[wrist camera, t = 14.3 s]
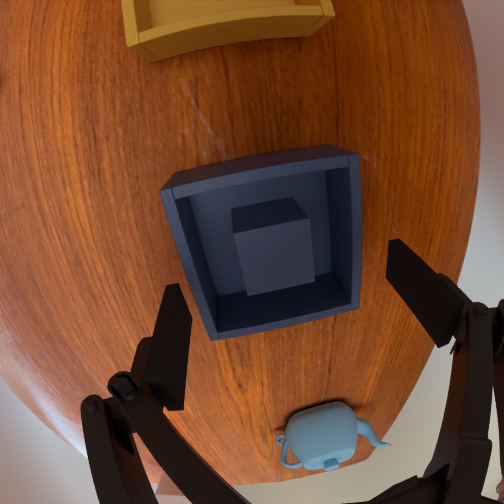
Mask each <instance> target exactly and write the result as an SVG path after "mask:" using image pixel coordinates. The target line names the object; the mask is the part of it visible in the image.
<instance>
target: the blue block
mask: <svg viewBox="0 0 504 504" xmlns="http://www.w3.org/2000/svg"><path fill="white" fill-rule="evenodd" d="M231 217H232V228H233V236H234V240H235V245H236V249H237V253H238V257H239V262H240V266H241V270H242V274H243V278H244V283H245V287H246V291H247V295H248V296H251V295H255V294H260V293H265V292H270V291H274V290H279V289H284V288H288V287H293V286H297V285H301V284H306V283H310V282H314V281H315V275H314V262H313V250H312V239H311V228H310V219H309V217H308V216H307V215H306V213H305V212H304V211H303V210H302V209H301V207H300V206H299V205H298V204H297V202H296V201H295V200H294V199H293V198H292V197H288V198H282V199H277V200H272V201H267V202H262V203H257V204H252V205H247V206H242V207H237V208H233V209H231Z"/></svg>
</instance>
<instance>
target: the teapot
mask: <svg viewBox="0 0 504 504" xmlns="http://www.w3.org/2000/svg"><path fill="white" fill-rule="evenodd" d="M357 434H362V435H364V436H365V437H366V438H367V439H368V441H369V442H370V443H371V445H373V446H374V447H377V448H381V447H386V446H389V445H391V444H389V443H384V442H382V441H380V440H379V439H378V438H377V436H376V435H375V433H374V431H373V429H372V427H371V425H370V424H369V423H368V422H367V421H366V420H364V419H362V418H358V417H355V414H354V412H353V410H352V409H351V408H350V407H349V406H348V405H346V404H344V403H343V402H339V401H336V402H331V403H326V404H323V405H319V406H315V407H312V408H309V409H306V410H303V411H300V412H298V413H296V414H294V415H293V416H292V417H291V418H290V420H289V422H288V424H287V427H286V431H285V434H280V435H279V436H277V437H276V444H277V445H279V446H283V448H282V452H281V463H282V464H283V465H284V466H285V467H287V468H292V469H294V468H299V467H301V466H302V465H303V466H304V467H305V468H306V469H308V470H317V469H321V468H324V471H330V470H333V469H336V468H338V467H339V466H340V464H339V463H341V462H344V461H346V460H348V459H350V458H351V457H352V456H353V454H354V453H355V449H356V443H357ZM281 439H284V442H280V440H281ZM288 446H289V448H290V450H291V451H292V453H293V454H294V456H295V457H296V458H297V460H298V461H299V462H298V463H295V464H289V463H287V461H286V453H287V449H288Z"/></svg>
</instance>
